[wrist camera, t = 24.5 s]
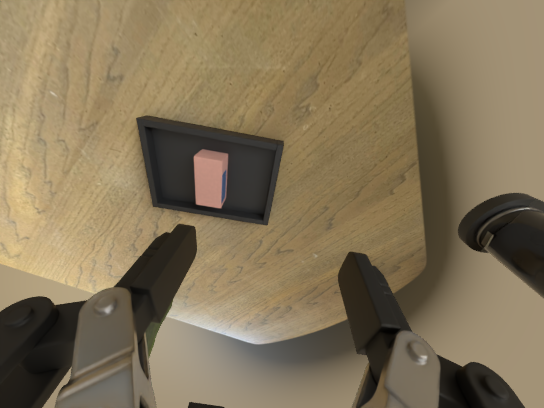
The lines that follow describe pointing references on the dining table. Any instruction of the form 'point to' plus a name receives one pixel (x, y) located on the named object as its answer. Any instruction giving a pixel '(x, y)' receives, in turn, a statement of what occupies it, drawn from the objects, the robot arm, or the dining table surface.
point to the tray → (180, 168)
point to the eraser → (210, 178)
